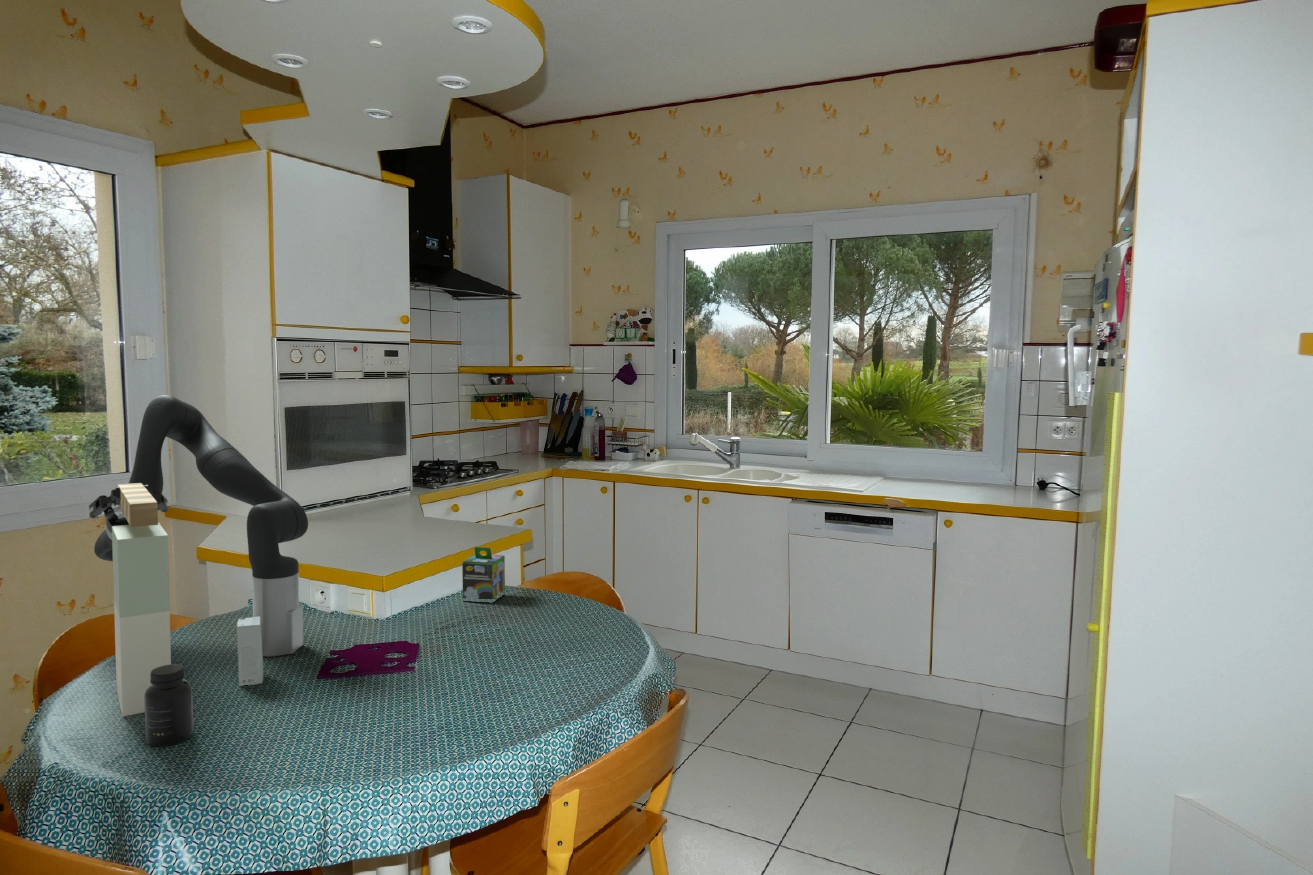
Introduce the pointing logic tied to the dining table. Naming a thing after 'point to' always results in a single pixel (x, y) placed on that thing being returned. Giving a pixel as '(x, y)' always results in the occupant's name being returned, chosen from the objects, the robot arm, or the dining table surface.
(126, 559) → the tower
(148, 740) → the supplement bottle
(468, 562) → the chalk box
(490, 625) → the dining table surface
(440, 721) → the dining table surface
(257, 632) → the skincare box
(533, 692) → the dining table surface
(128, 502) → the beam
